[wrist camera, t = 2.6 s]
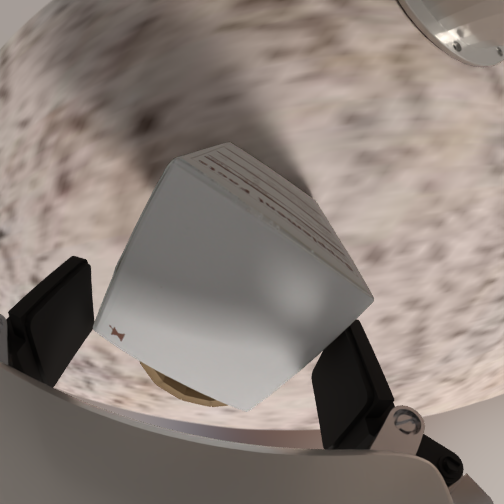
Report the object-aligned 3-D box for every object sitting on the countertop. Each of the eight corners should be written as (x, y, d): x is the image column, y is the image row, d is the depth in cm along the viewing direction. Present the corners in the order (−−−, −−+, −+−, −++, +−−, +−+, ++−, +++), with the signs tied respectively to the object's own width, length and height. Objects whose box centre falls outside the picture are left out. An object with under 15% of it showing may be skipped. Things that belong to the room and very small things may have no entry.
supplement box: (257, 276, 22) (245, 418, 11) (174, 222, 21) (83, 331, 9) (319, 200, 20) (383, 303, 8) (230, 136, 18) (166, 151, 7)
